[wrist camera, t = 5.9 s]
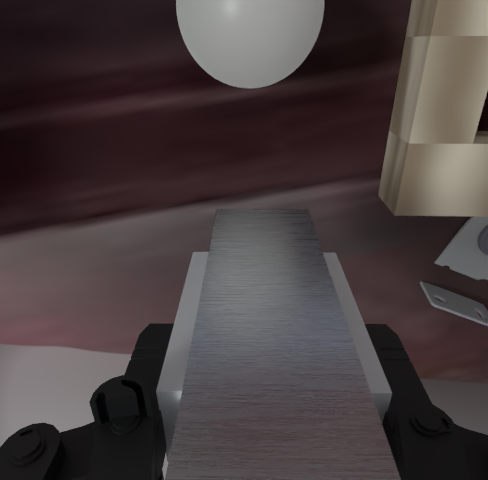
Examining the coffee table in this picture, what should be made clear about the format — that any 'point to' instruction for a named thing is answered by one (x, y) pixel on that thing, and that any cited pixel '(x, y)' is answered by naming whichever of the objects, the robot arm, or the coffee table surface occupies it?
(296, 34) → the plastic dowel
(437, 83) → the socket block
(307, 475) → the grey long block
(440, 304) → the bracket
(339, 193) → the coffee table surface
